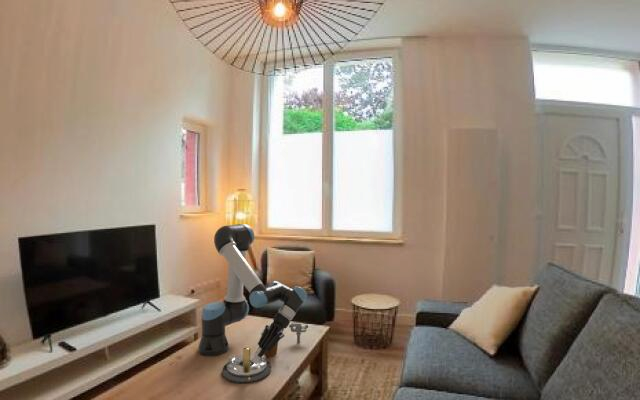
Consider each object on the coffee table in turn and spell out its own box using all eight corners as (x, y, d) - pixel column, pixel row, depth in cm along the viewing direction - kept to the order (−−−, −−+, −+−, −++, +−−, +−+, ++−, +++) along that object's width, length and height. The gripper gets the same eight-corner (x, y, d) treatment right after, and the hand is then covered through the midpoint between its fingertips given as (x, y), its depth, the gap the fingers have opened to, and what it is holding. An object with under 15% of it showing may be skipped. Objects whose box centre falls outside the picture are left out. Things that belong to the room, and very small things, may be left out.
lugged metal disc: (228, 359, 181) (228, 335, 181) (266, 357, 184) (266, 333, 184) (225, 378, 163) (225, 351, 163) (267, 375, 166) (267, 349, 166)
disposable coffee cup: (283, 354, 192) (283, 331, 191) (268, 360, 185) (269, 336, 184) (271, 348, 198) (271, 326, 198) (257, 354, 191) (257, 331, 191)
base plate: (214, 369, 175) (214, 365, 175) (255, 356, 189) (255, 352, 189) (236, 389, 158) (236, 384, 158) (280, 372, 172) (280, 368, 172)
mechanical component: (307, 343, 205) (307, 325, 205) (288, 343, 205) (289, 325, 205) (307, 341, 208) (308, 323, 207) (289, 341, 208) (289, 323, 208)
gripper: (296, 324, 174) (266, 371, 164) (280, 317, 184) (251, 361, 173) (287, 316, 170) (255, 363, 160) (271, 309, 180) (240, 353, 170)
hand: (253, 362), depth 167 cm, fingers closed
